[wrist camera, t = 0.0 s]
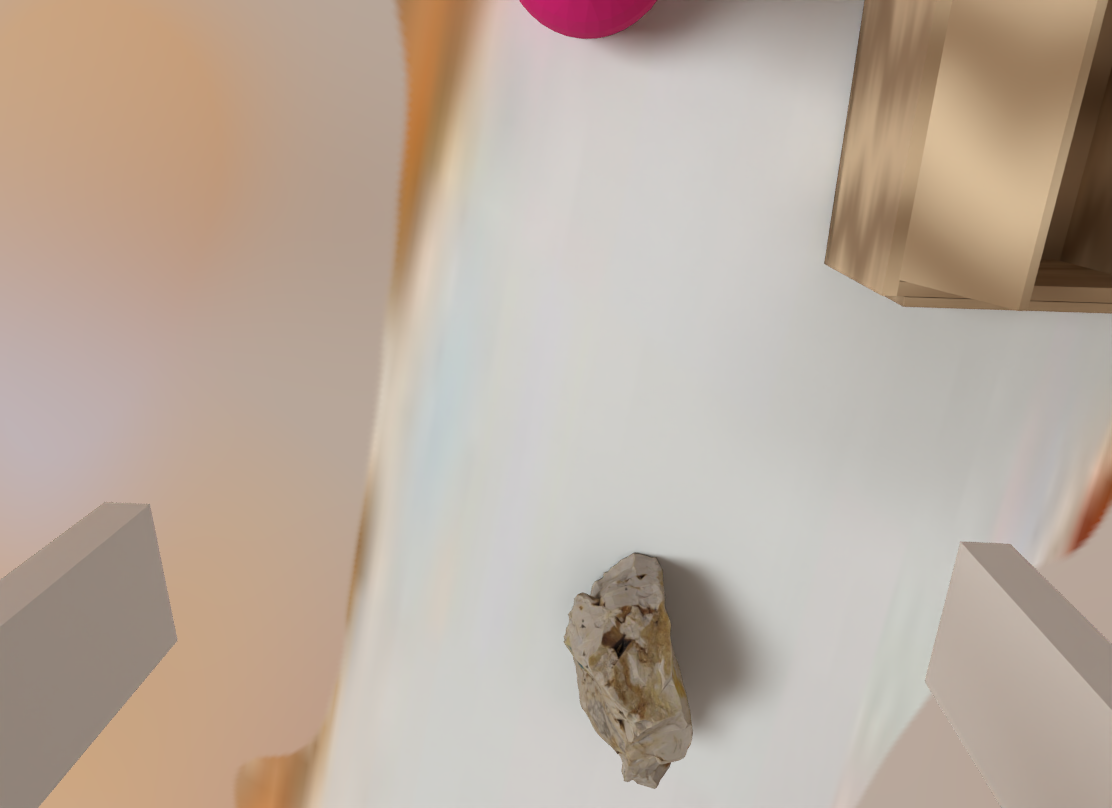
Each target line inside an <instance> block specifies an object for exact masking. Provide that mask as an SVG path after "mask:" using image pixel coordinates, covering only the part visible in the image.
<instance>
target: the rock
mask: <svg viewBox="0 0 1112 808" xmlns="http://www.w3.org/2000/svg"><path fill="white" fill-rule="evenodd" d="M568 615H569V624H568V627H567V628H566V634H565V636H564V639H565V640H564V643H565V645H566V646H567V648H568V649H569V651H570V652H571V654H572V655H573V659H574V662H575V665H576V673H577V683H578V689H579V696H580V704H581V707H582V709H583V710H584V711H585V712H586V714H587V715H588V717H589V719H590V721H591V723H592V725H593V727H594V729H595V731H596V732H597V734H598V735H599V736H600V737H601V738H602V739H603V740H604V741H606V742H607V743H608V744H609V745H610V746H611V747H612V748H613V749H614V750H615V751H616V753H617V754H619V755H620V757H621V759H622V762H623V764H622V774H623V777H624V781H626V782H629V781H631V780H634V781H635V782H636V783H637V784H640V785H644V786H647V787H650V788H654V789H655V788H656V787H657V786H658V785H659V782H660V780H661V778H662V777H663V776H664V774H665V773H666V771H667V770H668V768H669V767H670V764H671V762H674V761H679V760H681V759H682V758H684V757H685V755H686V752H687V749H688V748H689V746H690V744H691V741H692V735H693V730H692V723H691V714H690V709H689V705H688V700H687V695H686V692H685V689H684V685H683V681H682V676H681V672H680V668H679V665H678V662H677V660H676V657H675V654H674V651H673V647H672V643H671V638H670V631H671V623H670V619H669V616H668V614H667V611H666V609H665V594H664V585H663V570H662V568H661V566H660V565H659V563H658V561H657V559H656V557H652V558H651V557H648V556H645V555H641V554H635V553H633V554H631V555H630V556H629V557H627V558H625V559H622V560H620V561H619V562H618V563H617V564H616V565H615V566H613V567H612V568H611V569H610V570H609V571H608V572H605V573H604V574H603V578H602V579H600V580H598V581H595V582H594V584H593V586H592V590H591V595H588V594H586V593H580V594H578V595H577V596H576V597H575V599H574V606H573V608H572V610H571V612H570V613H569V614H568Z"/></svg>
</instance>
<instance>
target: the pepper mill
mask: <svg viewBox="0 0 1112 808" xmlns="http://www.w3.org/2000/svg"><path fill="white" fill-rule="evenodd" d="M656 1H657V0H520V2H521V4H522V5H523V6H524V7H525V8H526V10H527V11H528V12H529V13H530V14H531V15H532V16H533V17H534V18H535V19H537V20H538V21H539V22H540V23H541V24H543V25H544V26H546V27H548V28H550V29H551V30H553V31H555V32H558V33H560V34H563V35H566V36H569V37H575V38H583V39H590V38H601V37H605V36H609V35H613V34H615V33H617V32H620V31H622V30H624V29H626V28H628V27H629V26H631V25H632V24H634V23H635V22H637V21H638V20H639V19H640V18H641V17H642V16H643V15H645V14H646V13H647V12H648V11H649V10H650V9H651V8H652V6H653V5H654V4H655V2H656Z"/></svg>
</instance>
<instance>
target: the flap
mask: <svg viewBox="0 0 1112 808" xmlns="http://www.w3.org/2000/svg"><path fill="white" fill-rule="evenodd" d="M1107 3H1108V0H952V5H951V11H950V16H949V21H948V26H947V31H946V37H945V42H944V47H943V52H942V58H941V63H940V68H939V73H938V78H937V84H936V89H935V94H934V99H933V104H932V110H931V115H930V120H929V125H928V131H927V136H926V141H925V146H924V151H923V157H922V162H921V167H920V172H919V177H918V183H917V188H916V193H915V198H914V204H913V209H912V214H911V219H910V224H909V230H908V235H907V240H906V245H905V250H904V256H903V261H902V266H901V271H900V277H899V280H901V281H905V282H909V283H912V284H916V285H920V286H924V287H928V288H932V289H936V290H939V291H943V292H947V293H951V294H955V295H959V296H963V297H966V298H970V299H974V300H978V301H982V302H986V303H990V304H993V305H997V306H1001V307H1005V308H1009V309H1013V310H1017V311H1026V310H1028V307H1029V303H1030V299H1031V295H1032V292H1033V288H1034V284H1035V280H1036V276H1037V272H1038V269H1039V265H1040V261H1041V257H1042V253H1043V249H1044V245H1045V242H1046V238H1047V234H1048V230H1049V226H1050V222H1051V218H1052V215H1053V211H1054V207H1055V203H1056V199H1057V195H1058V191H1059V188H1060V184H1061V180H1062V176H1063V172H1064V168H1065V164H1066V161H1067V157H1068V153H1069V149H1070V145H1071V141H1072V138H1073V134H1074V130H1075V126H1076V122H1077V118H1078V114H1079V111H1080V107H1081V103H1082V99H1083V95H1084V91H1085V87H1086V84H1087V80H1088V76H1089V72H1090V68H1091V64H1092V60H1093V57H1094V53H1095V49H1096V45H1097V41H1098V37H1099V34H1100V30H1101V26H1102V22H1103V18H1104V14H1105V10H1106V7H1107Z"/></svg>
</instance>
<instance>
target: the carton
mask: <svg viewBox="0 0 1112 808" xmlns="http://www.w3.org/2000/svg"><path fill="white" fill-rule="evenodd" d="M951 5H952V0H865V2H864V8H863V15H862V21H861V28H860V34H859V41H858V47H857V54H856V60H855V67H854V73H853V80H852V86H851V93H850V99H849V106H848V112H847V119H846V126H845V132H844V139H843V145H842V152H841V158H840V165H839V171H838V178H837V184H836V191H835V197H834V204H833V210H832V217H831V223H830V230H829V236H828V243H827V249H826V256H825V262H824V264H826V265H828V266H829V267H831V268H833V269H835V270H837V271H838V272H840V273H842V274H844V275H846V276H847V277H849V278H851V279H853V280H855V281H856V282H858V283H860V284H862V285H864V286H865V287H867V288H869V289H871V290H873V291H874V292H876V293H878V294H880V295H882V296H885V297H887V298H889V299H891V300H892V301H894V302H896V303H898V304H900V305H901V306H903V307H931V308H962V309H993V310H1013V309H1009V308H1005V307H1001V306H997V305H993V304H990V303H986V302H982V301H978V300H974V299H970V298H966V297H963V296H959V295H955V294H951V293H947V292H943V291H939V290H936V289H932V288H928V287H924V286H920V285H916V284H912V283H909V282H905V281H901V280H899V277H900V271H901V266H902V261H903V256H904V250H905V245H906V240H907V235H908V230H909V224H910V219H911V214H912V209H913V204H914V198H915V193H916V188H917V183H918V177H919V172H920V167H921V162H922V157H923V151H924V146H925V141H926V136H927V131H928V125H929V120H930V115H931V110H932V104H933V99H934V94H935V89H936V84H937V78H938V73H939V68H940V63H941V58H942V52H943V47H944V42H945V37H946V31H947V26H948V21H949V16H950V11H951ZM1026 311H1055V312H1086V313H1112V0H1108V3H1107V7H1106V10H1105V14H1104V18H1103V22H1102V26H1101V30H1100V34H1099V37H1098V41H1097V45H1096V49H1095V53H1094V57H1093V60H1092V64H1091V68H1090V72H1089V76H1088V80H1087V84H1086V87H1085V91H1084V95H1083V99H1082V103H1081V107H1080V111H1079V114H1078V118H1077V122H1076V126H1075V130H1074V134H1073V138H1072V141H1071V145H1070V149H1069V153H1068V157H1067V161H1066V164H1065V168H1064V172H1063V176H1062V180H1061V184H1060V188H1059V191H1058V195H1057V199H1056V203H1055V207H1054V211H1053V215H1052V218H1051V222H1050V226H1049V230H1048V234H1047V238H1046V242H1045V245H1044V249H1043V253H1042V257H1041V261H1040V265H1039V269H1038V272H1037V276H1036V280H1035V284H1034V288H1033V292H1032V295H1031V299H1030V303H1029V307H1028V310H1026Z"/></svg>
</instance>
